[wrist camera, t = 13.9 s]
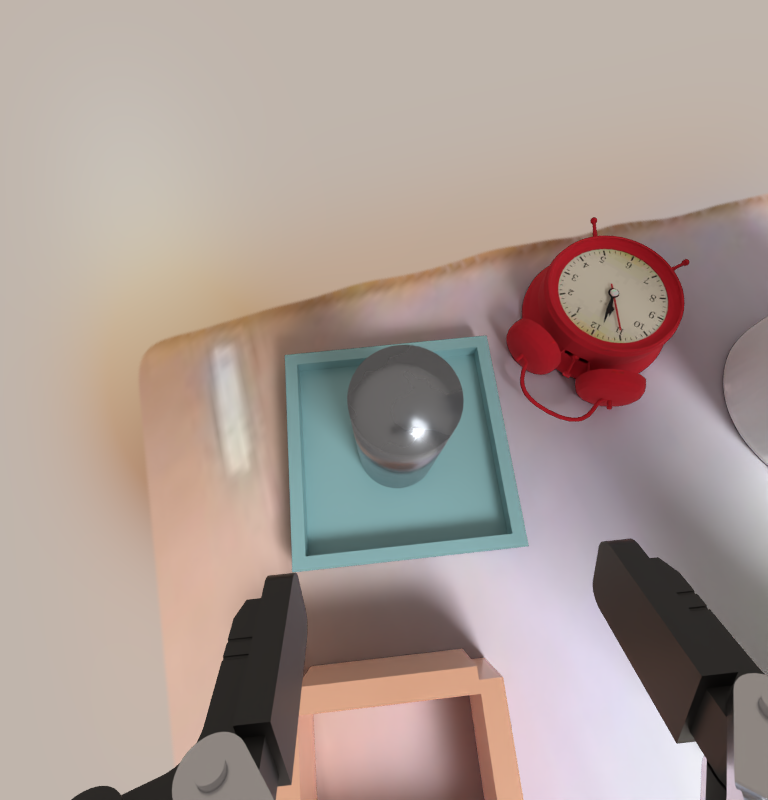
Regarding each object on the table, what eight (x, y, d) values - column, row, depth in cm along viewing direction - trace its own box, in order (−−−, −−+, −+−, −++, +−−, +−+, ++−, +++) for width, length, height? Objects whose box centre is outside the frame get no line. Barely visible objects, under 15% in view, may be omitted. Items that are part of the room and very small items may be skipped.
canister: (428, 410, 31) (453, 339, 20) (440, 483, 29) (473, 447, 19) (355, 418, 30) (341, 351, 20) (363, 492, 29) (353, 462, 18)
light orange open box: (482, 646, 27) (500, 663, 22) (521, 895, 23) (552, 972, 19) (290, 668, 26) (272, 690, 22) (298, 925, 23) (278, 1010, 18)
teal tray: (480, 348, 33) (486, 335, 31) (519, 546, 28) (528, 546, 27) (290, 366, 33) (284, 355, 31) (298, 571, 28) (292, 572, 26)
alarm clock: (717, 259, 31) (675, 416, 24) (660, 318, 37) (612, 461, 30) (579, 198, 33) (501, 327, 26) (543, 263, 39) (471, 384, 31)
